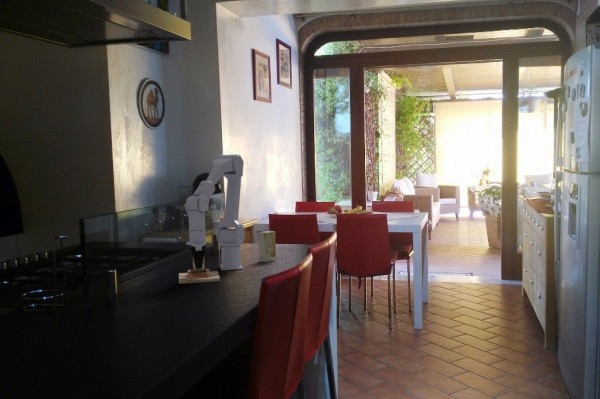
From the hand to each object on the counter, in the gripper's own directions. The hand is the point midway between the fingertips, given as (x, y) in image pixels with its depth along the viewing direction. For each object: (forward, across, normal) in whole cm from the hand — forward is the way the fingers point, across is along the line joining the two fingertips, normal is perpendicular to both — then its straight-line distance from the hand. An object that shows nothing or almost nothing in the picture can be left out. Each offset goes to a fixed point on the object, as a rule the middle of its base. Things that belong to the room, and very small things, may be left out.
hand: (198, 267), depth 208 cm
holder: (+4, 0, 0) cm, 4 cm away
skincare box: (+4, -28, +29) cm, 41 cm away
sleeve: (+2, 0, 0) cm, 2 cm away
